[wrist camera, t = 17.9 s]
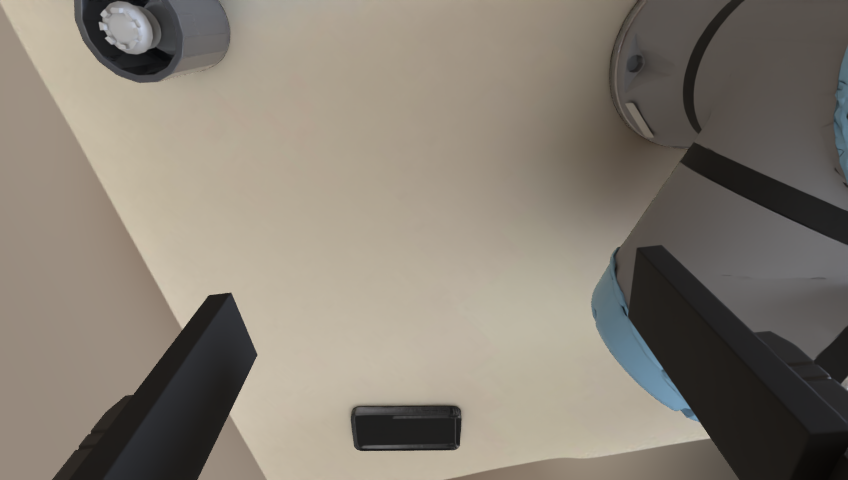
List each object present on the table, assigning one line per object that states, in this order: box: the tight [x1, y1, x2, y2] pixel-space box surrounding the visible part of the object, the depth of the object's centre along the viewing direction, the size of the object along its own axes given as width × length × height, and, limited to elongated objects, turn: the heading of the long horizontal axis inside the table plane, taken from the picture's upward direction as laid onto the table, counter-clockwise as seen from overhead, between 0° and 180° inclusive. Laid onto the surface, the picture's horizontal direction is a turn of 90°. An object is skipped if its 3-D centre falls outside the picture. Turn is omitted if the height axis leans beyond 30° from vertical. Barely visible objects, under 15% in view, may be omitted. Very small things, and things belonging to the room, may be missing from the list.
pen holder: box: [74, 0, 230, 83], centre depth 32 cm, size 7×7×8 cm
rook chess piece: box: [99, 0, 177, 55], centre depth 31 cm, size 4×4×8 cm
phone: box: [351, 406, 461, 451], centre depth 59 cm, size 8×1×15 cm
